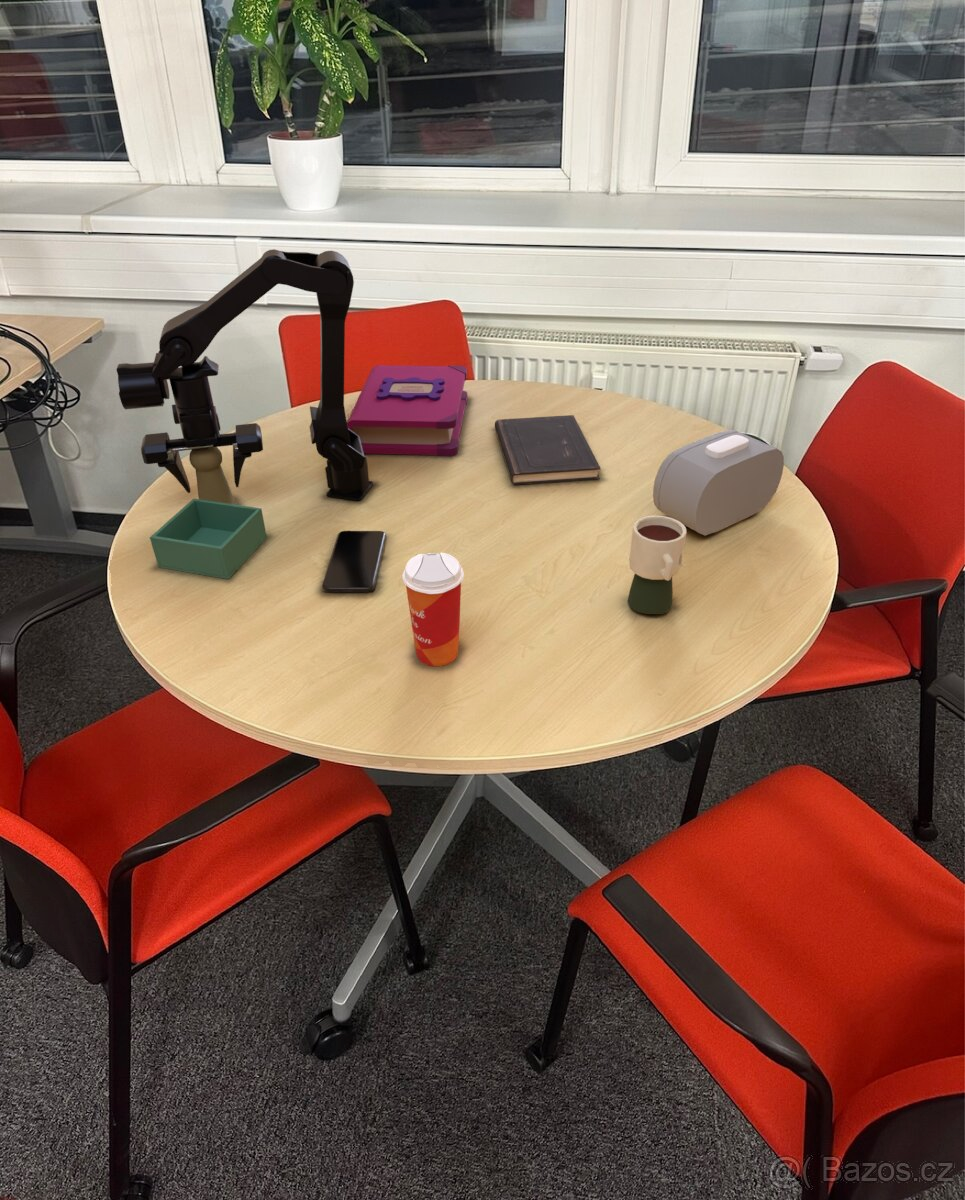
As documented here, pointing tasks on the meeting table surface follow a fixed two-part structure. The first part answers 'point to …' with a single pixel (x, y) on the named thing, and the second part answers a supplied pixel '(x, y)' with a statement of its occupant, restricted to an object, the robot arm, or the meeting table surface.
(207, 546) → the tote
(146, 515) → the meeting table surface
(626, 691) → the meeting table surface
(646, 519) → the character mug
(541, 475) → the hardcover book
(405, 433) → the book
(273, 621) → the meeting table surface
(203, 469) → the brown pawn
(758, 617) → the meeting table surface
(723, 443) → the alarm clock
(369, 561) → the smartphone
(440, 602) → the paper cup
